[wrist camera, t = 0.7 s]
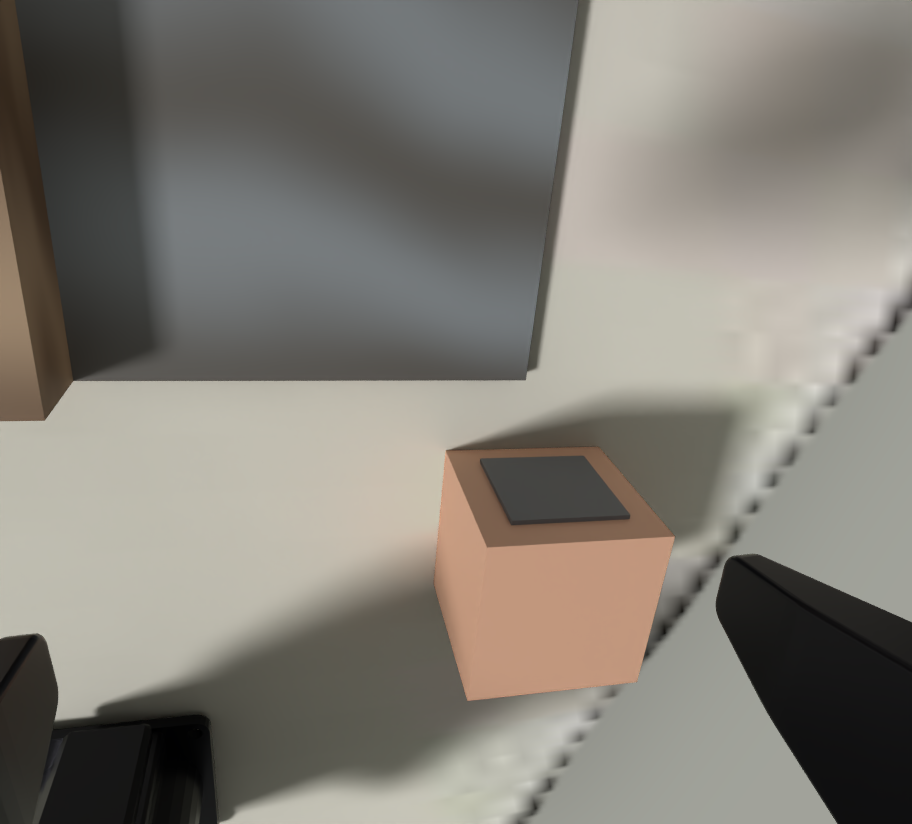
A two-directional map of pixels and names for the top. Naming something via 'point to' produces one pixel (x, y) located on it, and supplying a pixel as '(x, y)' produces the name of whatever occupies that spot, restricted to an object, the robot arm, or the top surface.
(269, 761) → the top surface
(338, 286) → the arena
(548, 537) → the terracotta cube
